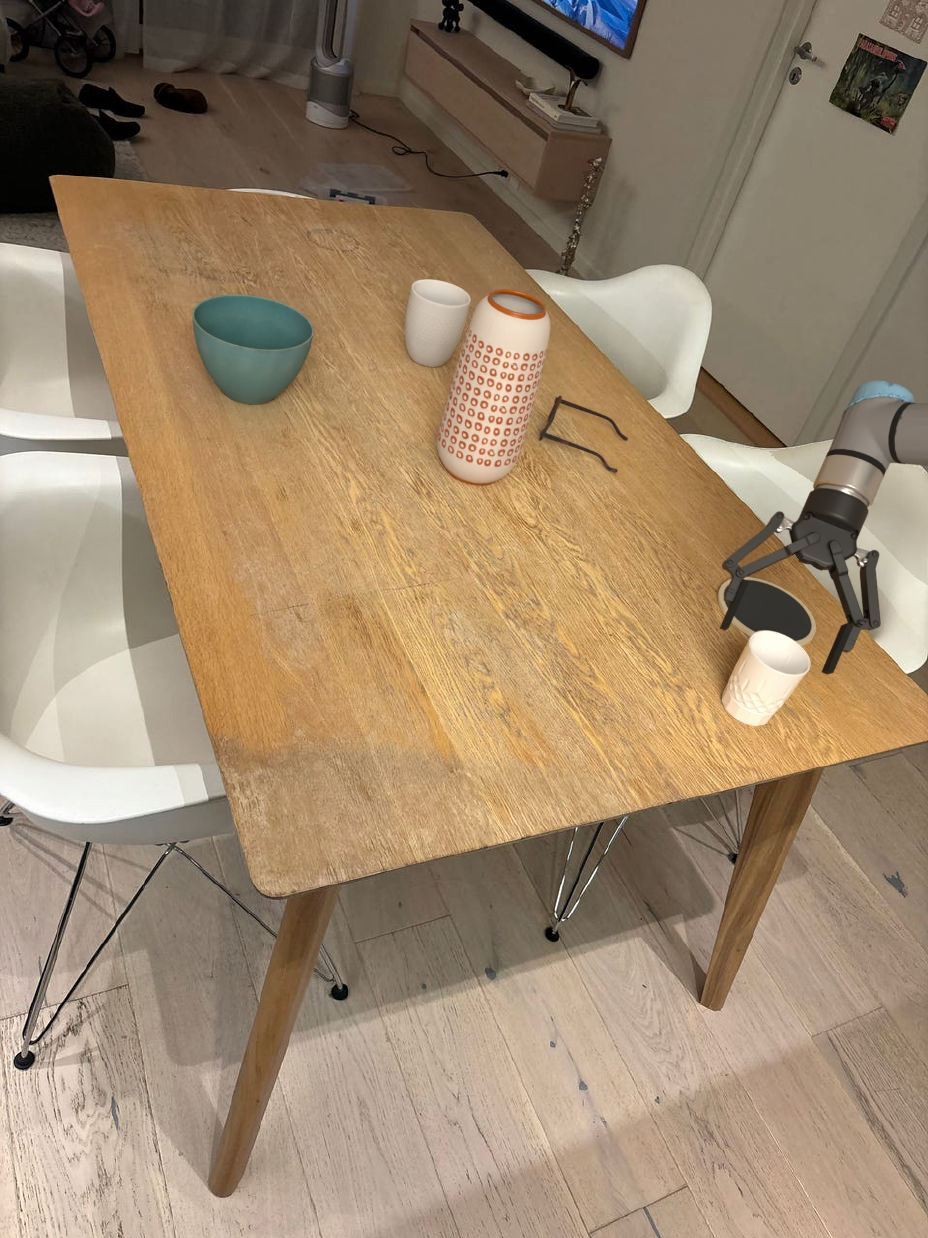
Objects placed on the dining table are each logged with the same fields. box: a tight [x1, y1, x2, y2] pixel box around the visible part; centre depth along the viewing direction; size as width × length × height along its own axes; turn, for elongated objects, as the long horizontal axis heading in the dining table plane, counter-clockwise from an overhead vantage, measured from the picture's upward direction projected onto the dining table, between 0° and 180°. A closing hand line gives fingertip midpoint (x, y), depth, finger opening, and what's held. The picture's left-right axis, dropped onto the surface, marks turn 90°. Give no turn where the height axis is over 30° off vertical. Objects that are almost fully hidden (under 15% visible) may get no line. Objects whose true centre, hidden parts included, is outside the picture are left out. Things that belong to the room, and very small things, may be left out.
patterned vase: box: [436, 288, 552, 486], centre depth 138 cm, size 13×13×28 cm
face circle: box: [717, 576, 817, 647], centre depth 135 cm, size 15×15×1 cm
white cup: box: [721, 630, 812, 727], centre depth 115 cm, size 8×8×10 cm
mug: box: [404, 278, 472, 368], centre depth 170 cm, size 15×11×13 cm
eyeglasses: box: [538, 395, 629, 473], centre depth 160 cm, size 15×15×5 cm
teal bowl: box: [192, 294, 315, 405], centre depth 145 cm, size 18×18×12 cm
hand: (775, 650), depth 115 cm, fingers open, 13 cm apart
